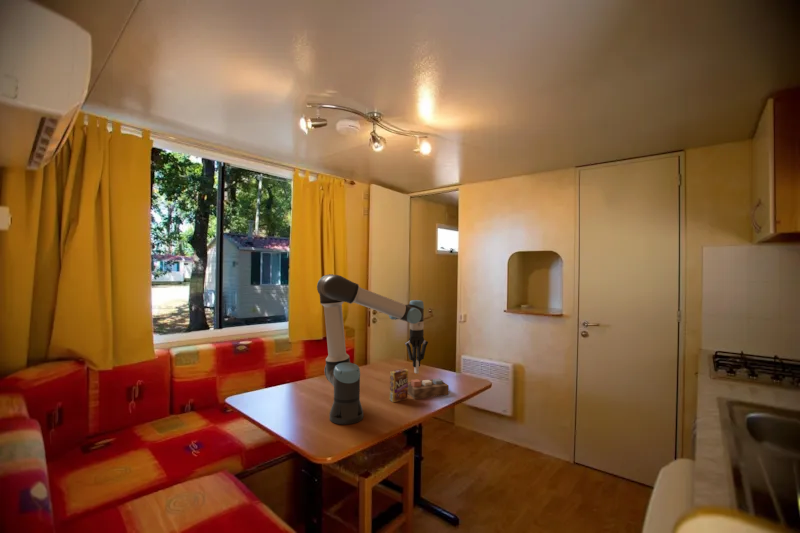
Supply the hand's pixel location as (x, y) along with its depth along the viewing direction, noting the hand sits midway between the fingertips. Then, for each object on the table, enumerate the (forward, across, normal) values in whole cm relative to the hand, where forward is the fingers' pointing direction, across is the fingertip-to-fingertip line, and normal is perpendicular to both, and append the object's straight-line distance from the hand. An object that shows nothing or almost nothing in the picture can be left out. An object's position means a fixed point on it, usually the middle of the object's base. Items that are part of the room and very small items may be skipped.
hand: (416, 372), depth 190 cm
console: (+12, +6, 0) cm, 13 cm away
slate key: (+9, +13, 0) cm, 16 cm away
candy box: (+12, -12, -4) cm, 17 cm away
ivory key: (+9, +6, 0) cm, 11 cm away
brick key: (+8, 0, 0) cm, 8 cm away
